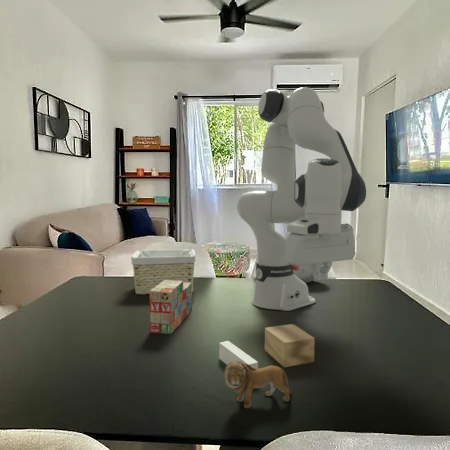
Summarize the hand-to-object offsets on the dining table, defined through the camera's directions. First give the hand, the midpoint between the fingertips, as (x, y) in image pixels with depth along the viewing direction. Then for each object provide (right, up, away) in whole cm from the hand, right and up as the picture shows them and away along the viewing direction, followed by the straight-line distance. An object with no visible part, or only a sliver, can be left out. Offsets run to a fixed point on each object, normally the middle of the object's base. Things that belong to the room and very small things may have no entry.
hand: (320, 279), depth 100 cm
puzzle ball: (+9, -11, +69) cm, 70 cm away
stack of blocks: (-40, -16, +22) cm, 48 cm away
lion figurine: (-18, -21, -23) cm, 36 cm away
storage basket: (-47, -12, +56) cm, 75 cm away
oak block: (-8, -18, -2) cm, 20 cm away
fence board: (-21, -19, -9) cm, 30 cm away
